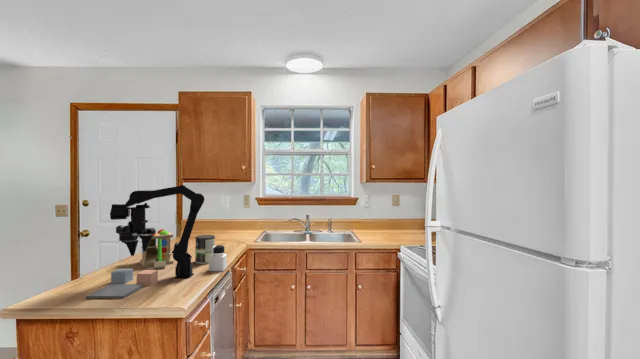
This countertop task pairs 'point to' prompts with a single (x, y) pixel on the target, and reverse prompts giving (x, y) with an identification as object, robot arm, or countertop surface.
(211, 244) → the coffee can
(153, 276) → the terracotta brick
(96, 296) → the base plate
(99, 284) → the countertop surface
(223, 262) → the medicine bottle
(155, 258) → the pounding bench toy
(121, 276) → the slate-grey brick
